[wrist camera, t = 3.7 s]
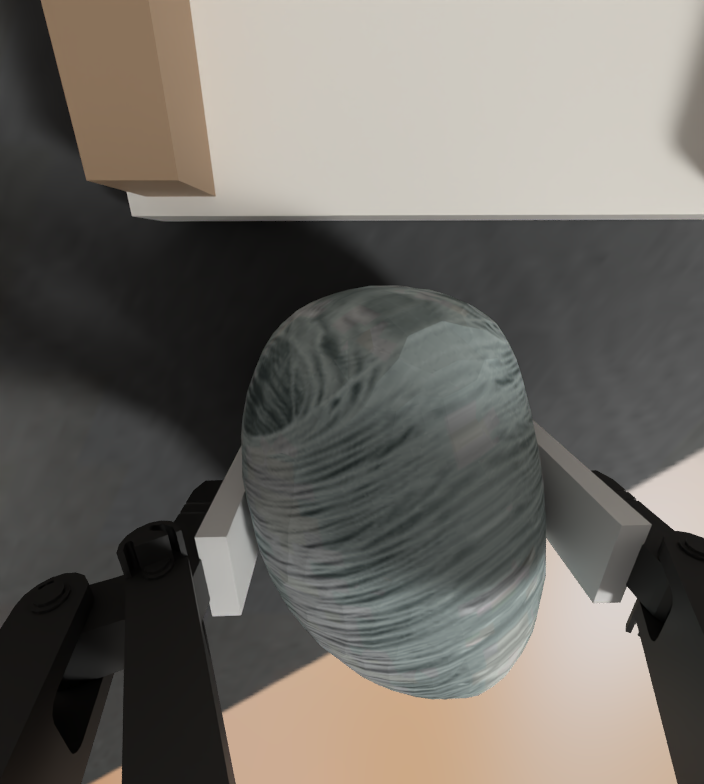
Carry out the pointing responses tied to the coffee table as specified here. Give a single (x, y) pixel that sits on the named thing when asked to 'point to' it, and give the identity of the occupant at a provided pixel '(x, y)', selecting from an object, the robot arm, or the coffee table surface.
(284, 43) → the shelf bay
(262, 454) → the grey streaked oval piece
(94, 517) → the coffee table surface
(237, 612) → the robot arm
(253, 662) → the coffee table surface
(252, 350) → the coffee table surface
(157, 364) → the coffee table surface
